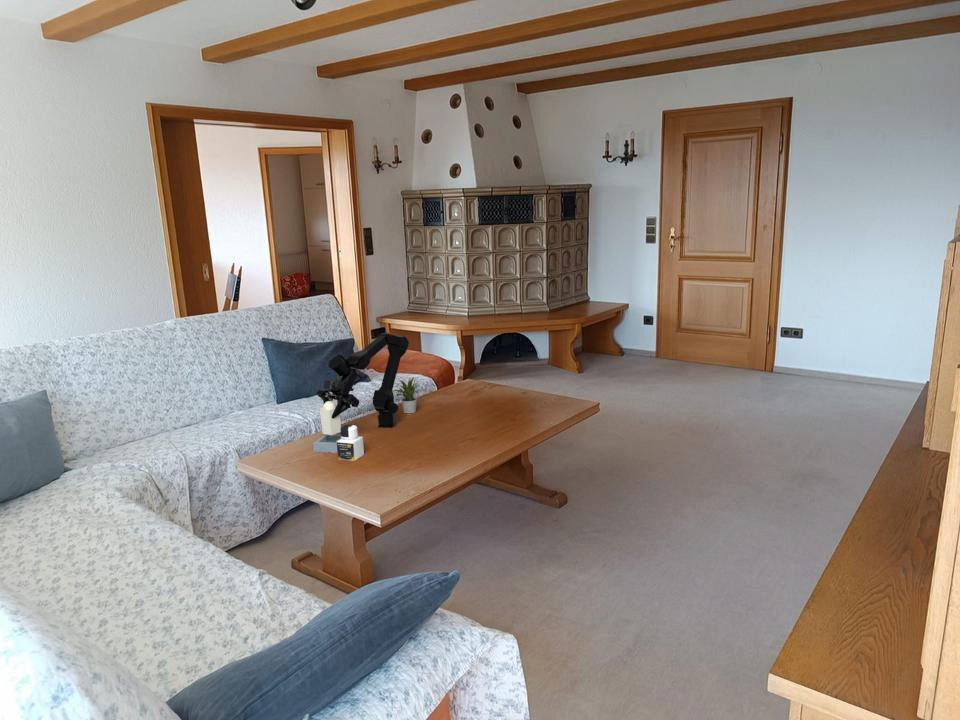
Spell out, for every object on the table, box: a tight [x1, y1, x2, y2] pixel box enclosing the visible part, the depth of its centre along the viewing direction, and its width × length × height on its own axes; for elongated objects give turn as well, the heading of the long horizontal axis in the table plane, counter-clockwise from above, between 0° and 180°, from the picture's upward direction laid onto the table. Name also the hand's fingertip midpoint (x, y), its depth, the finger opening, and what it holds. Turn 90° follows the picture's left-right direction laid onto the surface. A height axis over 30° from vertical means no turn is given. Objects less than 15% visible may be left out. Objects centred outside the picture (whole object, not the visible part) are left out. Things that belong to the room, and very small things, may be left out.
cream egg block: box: [319, 401, 342, 435], centre depth 253 cm, size 5×5×12 cm
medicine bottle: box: [336, 424, 365, 462], centre depth 243 cm, size 7×7×12 cm
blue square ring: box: [312, 433, 341, 454], centre depth 255 cm, size 11×11×4 cm
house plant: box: [392, 376, 423, 414], centre depth 297 cm, size 14×14×16 cm
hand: (327, 417), depth 252 cm, fingers closed on cream egg block, 5 cm apart
